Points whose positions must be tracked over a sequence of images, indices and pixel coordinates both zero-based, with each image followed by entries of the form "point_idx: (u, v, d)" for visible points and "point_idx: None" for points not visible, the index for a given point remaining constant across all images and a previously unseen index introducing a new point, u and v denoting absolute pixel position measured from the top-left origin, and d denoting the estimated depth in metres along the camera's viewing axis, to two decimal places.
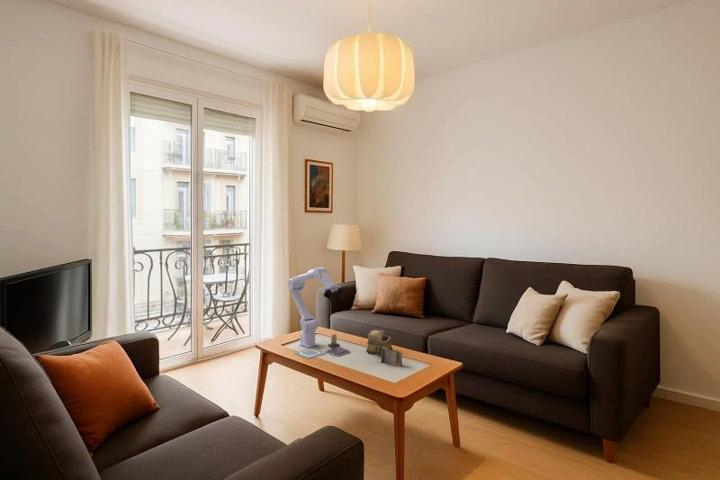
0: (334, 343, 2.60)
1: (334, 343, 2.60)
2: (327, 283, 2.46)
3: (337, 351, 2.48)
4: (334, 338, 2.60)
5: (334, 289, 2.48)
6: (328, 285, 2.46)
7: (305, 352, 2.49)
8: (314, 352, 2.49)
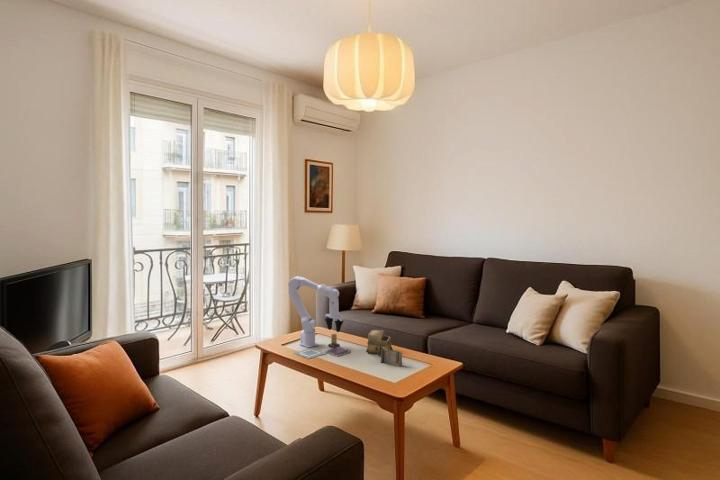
0: (334, 343, 2.60)
1: (334, 343, 2.60)
2: (338, 311, 2.60)
3: (337, 351, 2.48)
4: (334, 338, 2.60)
5: None
6: (338, 313, 2.60)
7: (305, 352, 2.49)
8: (314, 352, 2.49)
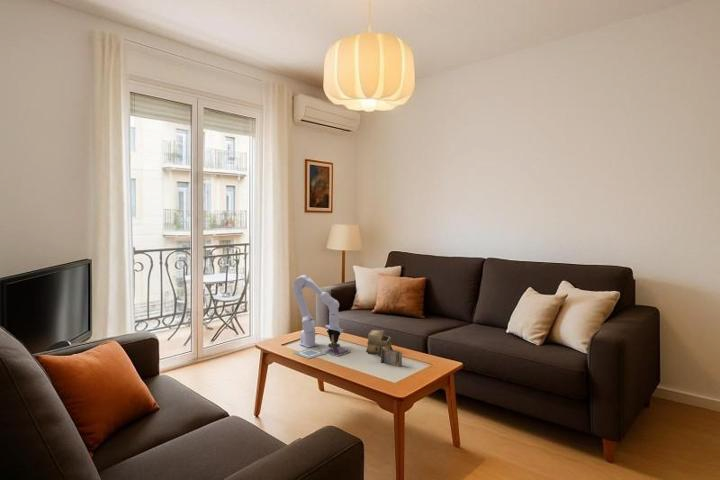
0: (334, 343, 2.60)
1: (334, 343, 2.60)
2: (338, 322, 2.61)
3: (337, 351, 2.48)
4: None
5: None
6: (338, 325, 2.60)
7: (305, 352, 2.49)
8: (314, 352, 2.49)
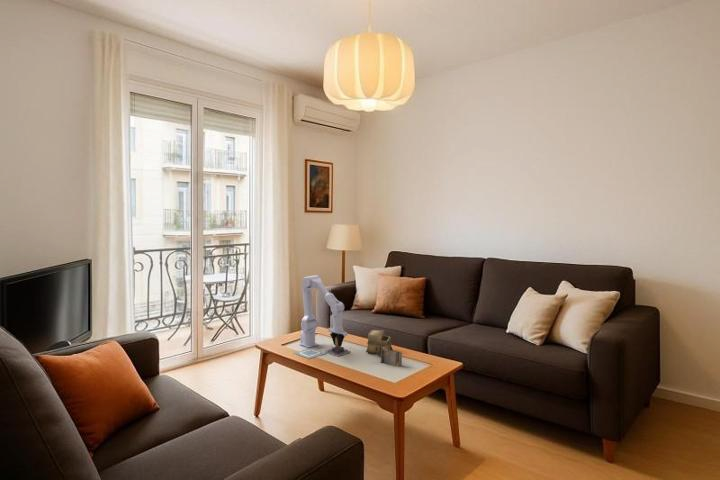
0: None
1: (338, 347, 2.49)
2: None
3: None
4: None
5: None
6: (342, 328, 2.49)
7: (305, 352, 2.49)
8: (314, 352, 2.49)
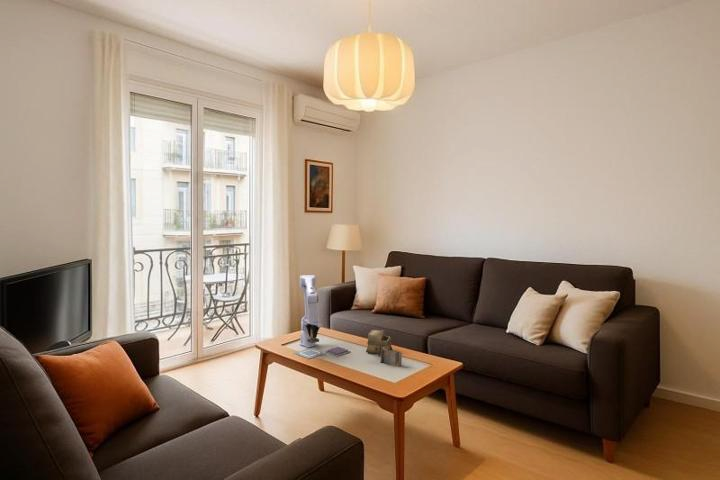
0: (313, 338, 2.46)
1: (313, 338, 2.46)
2: (317, 316, 2.47)
3: (337, 351, 2.48)
4: None
5: None
6: (317, 319, 2.47)
7: (305, 352, 2.49)
8: (314, 352, 2.49)
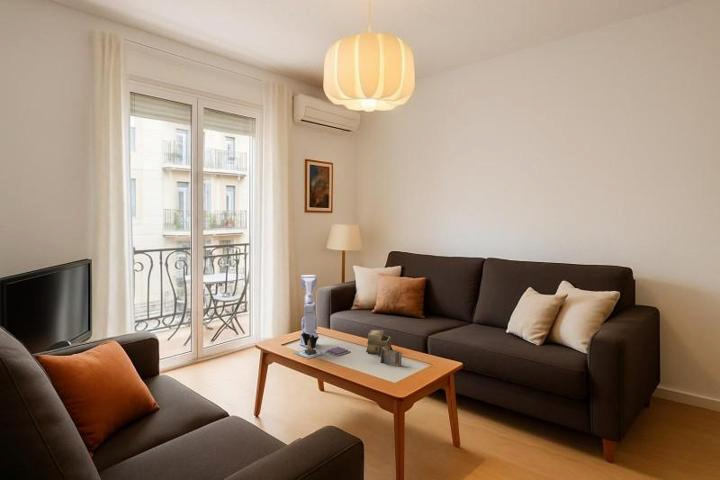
0: (310, 349, 2.47)
1: (309, 350, 2.47)
2: (314, 326, 2.47)
3: (337, 351, 2.48)
4: (310, 344, 2.46)
5: None
6: (314, 329, 2.46)
7: None
8: None
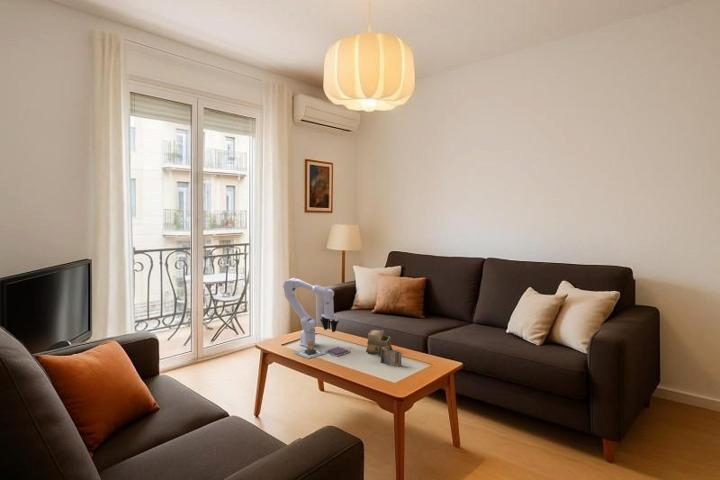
0: (310, 349, 2.47)
1: (309, 350, 2.47)
2: (333, 311, 2.60)
3: (337, 351, 2.48)
4: (310, 344, 2.46)
5: None
6: (333, 313, 2.60)
7: None
8: None
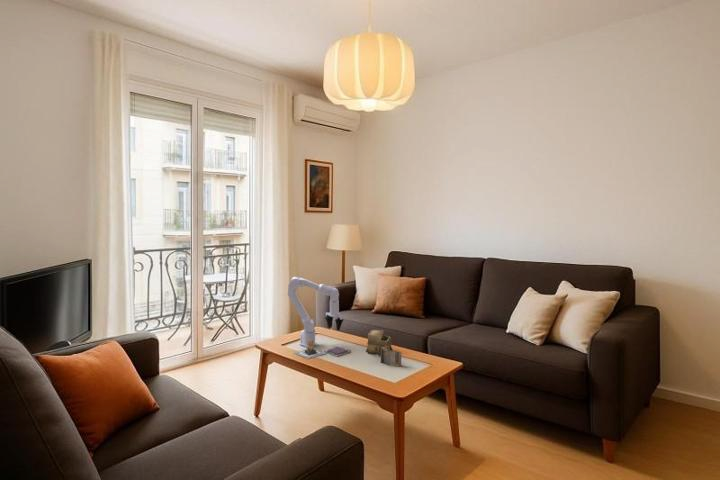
0: (310, 349, 2.47)
1: (309, 350, 2.47)
2: (338, 310, 2.64)
3: (337, 351, 2.48)
4: (310, 344, 2.46)
5: None
6: (338, 312, 2.64)
7: None
8: None
